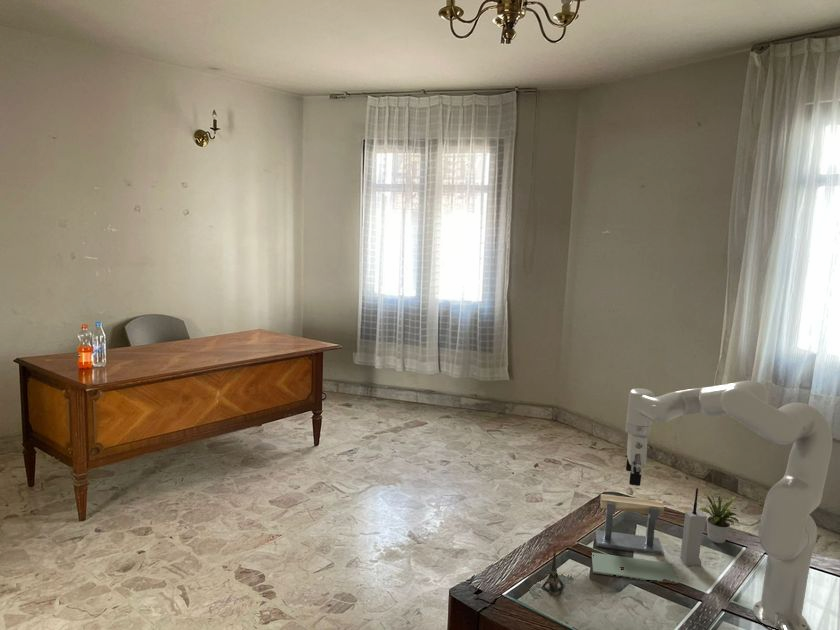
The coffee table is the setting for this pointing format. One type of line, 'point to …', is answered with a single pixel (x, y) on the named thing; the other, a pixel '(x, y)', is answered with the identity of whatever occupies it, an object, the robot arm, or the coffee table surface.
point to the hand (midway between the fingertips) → (632, 477)
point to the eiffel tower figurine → (551, 582)
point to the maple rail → (632, 504)
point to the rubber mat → (632, 567)
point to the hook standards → (628, 540)
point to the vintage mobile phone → (692, 535)
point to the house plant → (719, 519)
